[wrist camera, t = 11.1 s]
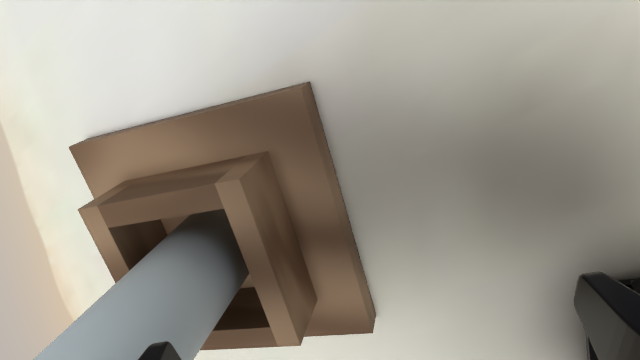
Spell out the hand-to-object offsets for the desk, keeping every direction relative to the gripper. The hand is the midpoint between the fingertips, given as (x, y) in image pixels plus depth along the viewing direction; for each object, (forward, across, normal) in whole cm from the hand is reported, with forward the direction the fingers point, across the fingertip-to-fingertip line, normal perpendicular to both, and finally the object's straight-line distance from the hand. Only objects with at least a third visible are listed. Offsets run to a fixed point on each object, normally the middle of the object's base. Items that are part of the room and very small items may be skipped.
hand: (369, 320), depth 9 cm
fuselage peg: (+12, +8, +7) cm, 16 cm away
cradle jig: (+13, +7, +7) cm, 17 cm away
